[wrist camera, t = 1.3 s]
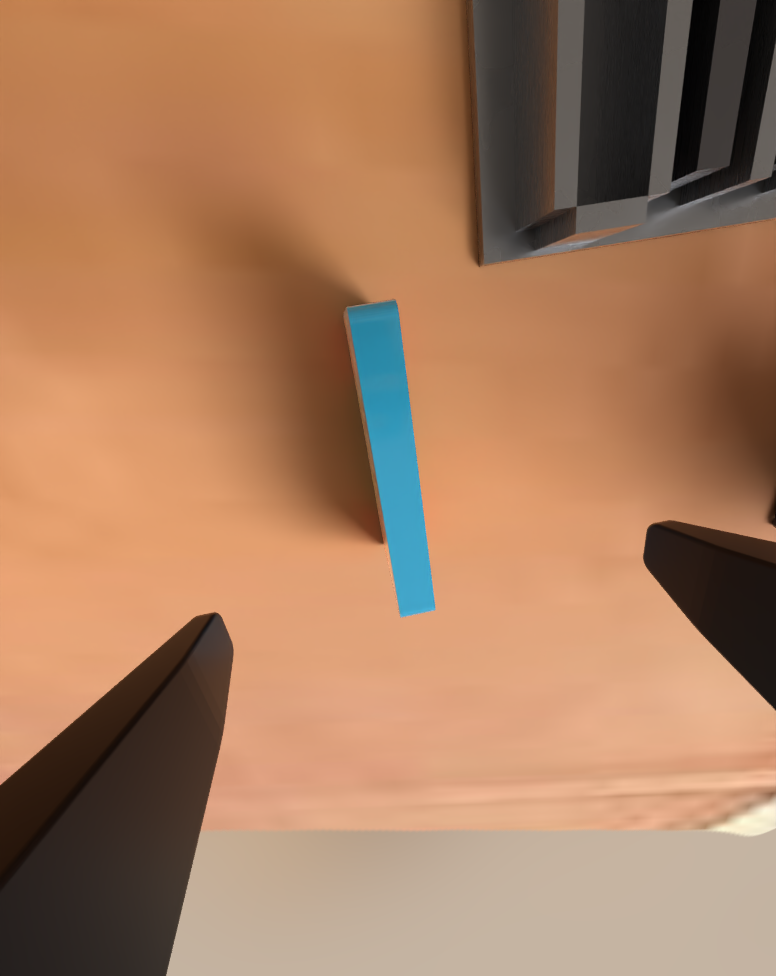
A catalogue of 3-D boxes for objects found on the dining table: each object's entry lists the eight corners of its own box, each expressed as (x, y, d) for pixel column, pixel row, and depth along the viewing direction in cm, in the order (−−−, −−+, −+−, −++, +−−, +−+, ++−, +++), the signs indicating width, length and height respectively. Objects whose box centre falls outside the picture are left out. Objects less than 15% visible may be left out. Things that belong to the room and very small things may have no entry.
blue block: (409, 540, 21) (436, 615, 16) (384, 545, 21) (401, 622, 16) (376, 309, 17) (396, 297, 11) (342, 314, 17) (346, 305, 11)
